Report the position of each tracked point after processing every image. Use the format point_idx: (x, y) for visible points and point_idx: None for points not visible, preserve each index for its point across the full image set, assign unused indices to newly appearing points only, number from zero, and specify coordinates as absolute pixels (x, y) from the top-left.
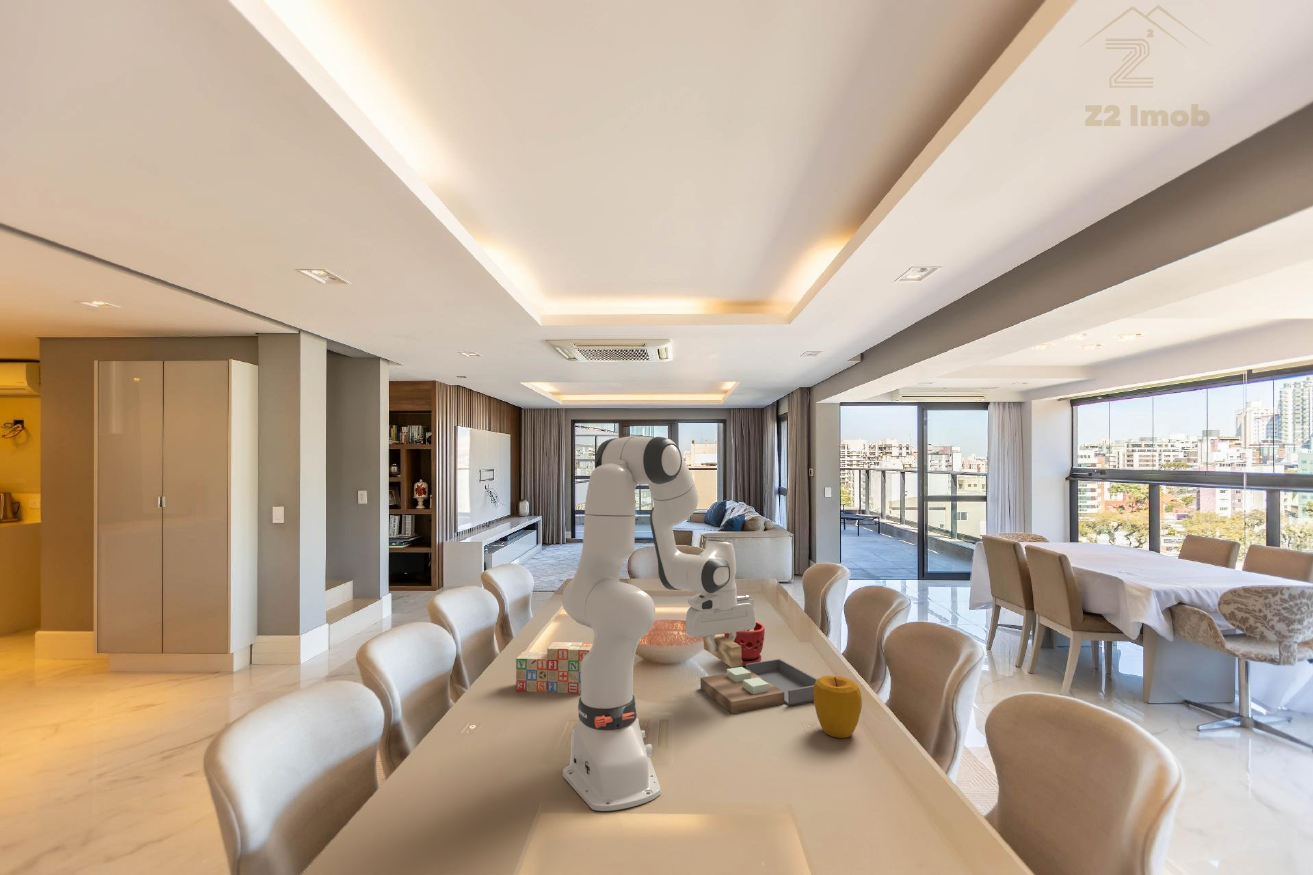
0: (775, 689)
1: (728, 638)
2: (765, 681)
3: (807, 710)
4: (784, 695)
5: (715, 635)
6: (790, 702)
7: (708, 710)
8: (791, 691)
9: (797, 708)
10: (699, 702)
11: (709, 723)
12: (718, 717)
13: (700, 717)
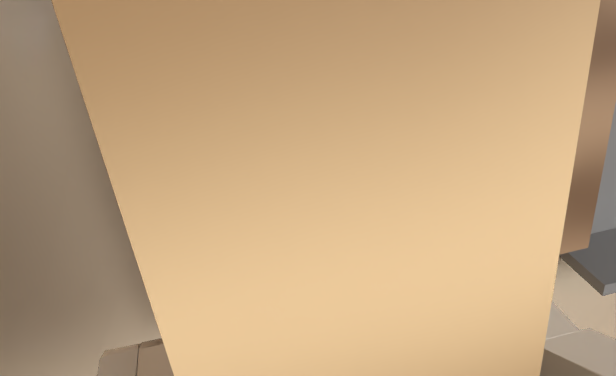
0: (571, 205)
1: (586, 372)
2: (610, 62)
3: (583, 290)
4: (607, 148)
5: (332, 332)
6: (562, 255)
7: (77, 231)
8: (609, 289)
9: (561, 268)
10: (29, 101)
11: (50, 371)
12: (121, 317)
13: (4, 308)
